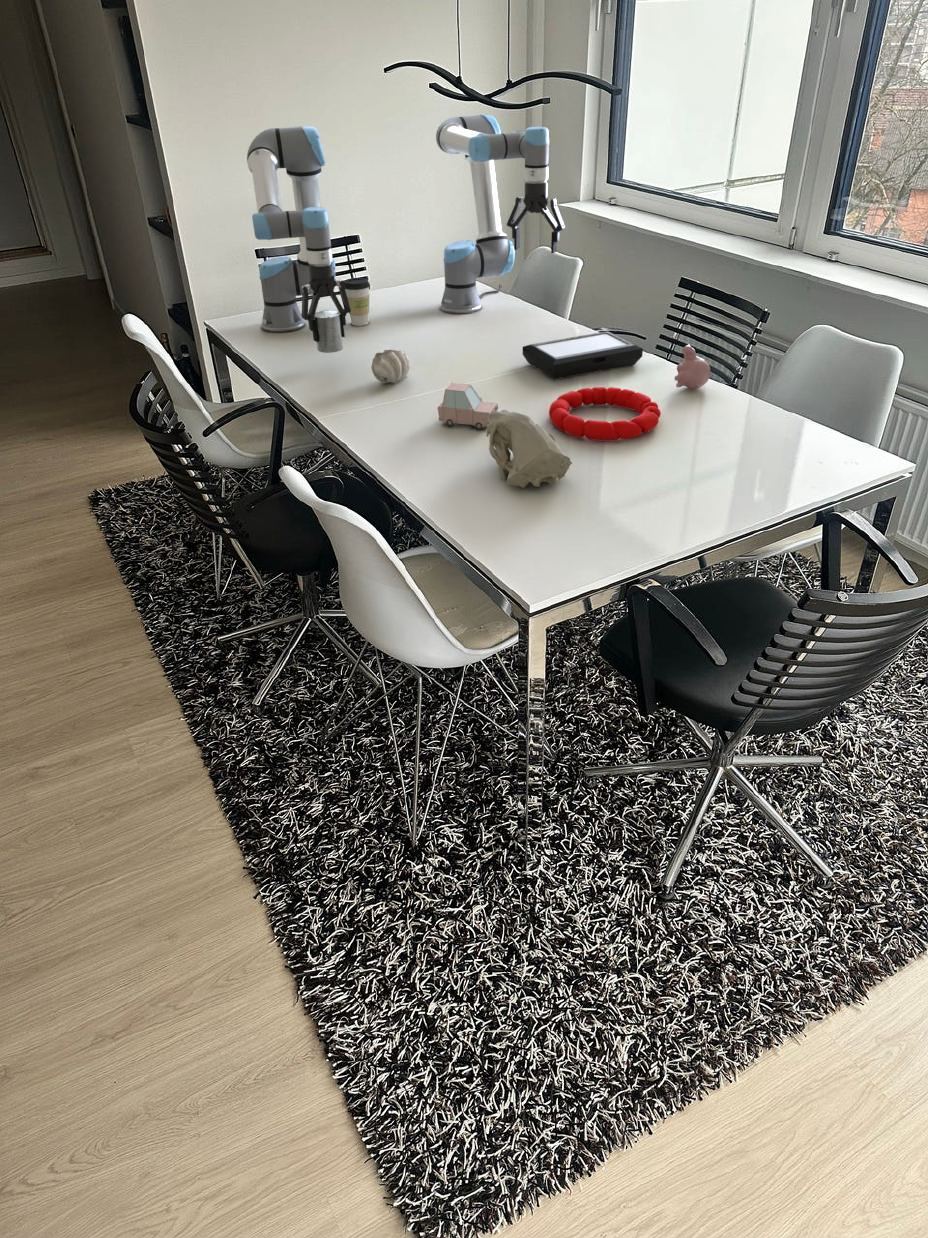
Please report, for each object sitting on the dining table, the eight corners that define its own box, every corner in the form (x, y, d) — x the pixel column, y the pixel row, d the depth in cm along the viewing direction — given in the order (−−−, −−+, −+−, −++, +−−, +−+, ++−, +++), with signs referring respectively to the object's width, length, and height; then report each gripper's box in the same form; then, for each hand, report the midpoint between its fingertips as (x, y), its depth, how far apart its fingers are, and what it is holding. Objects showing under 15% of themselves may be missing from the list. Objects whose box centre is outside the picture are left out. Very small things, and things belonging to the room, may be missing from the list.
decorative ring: (589, 435, 224) (684, 402, 234) (527, 398, 247) (617, 369, 256) (589, 461, 229) (683, 427, 238) (529, 422, 251) (617, 393, 260)
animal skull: (496, 517, 219) (521, 479, 201) (463, 429, 225) (484, 384, 207) (557, 503, 225) (586, 465, 206) (523, 417, 231) (549, 373, 212)
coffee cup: (372, 326, 323) (368, 283, 314) (345, 327, 323) (340, 284, 315) (374, 318, 331) (371, 276, 322) (348, 319, 331) (344, 277, 323)
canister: (312, 349, 284) (307, 315, 278) (329, 342, 289) (325, 308, 283) (330, 354, 280) (326, 319, 274) (348, 347, 285) (344, 312, 279)
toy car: (488, 432, 240) (488, 396, 234) (436, 426, 244) (434, 390, 239) (499, 419, 247) (499, 384, 241) (448, 413, 252) (447, 379, 246)
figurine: (665, 387, 264) (669, 347, 257) (693, 380, 268) (698, 340, 261) (686, 396, 257) (690, 355, 250) (714, 388, 262) (720, 348, 255)
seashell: (364, 381, 275) (361, 349, 270) (407, 372, 281) (405, 341, 275) (377, 391, 268) (374, 358, 262) (421, 382, 273) (420, 349, 268)
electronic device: (553, 362, 266) (522, 343, 282) (552, 382, 270) (522, 363, 285) (643, 345, 277) (609, 328, 292) (641, 365, 280) (607, 347, 295)
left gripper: (291, 270, 263) (301, 347, 276) (357, 261, 271) (364, 335, 284) (283, 265, 269) (293, 340, 282) (348, 256, 276) (355, 329, 289)
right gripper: (496, 181, 291) (497, 249, 303) (567, 185, 281) (565, 255, 293) (506, 177, 297) (506, 245, 309) (576, 181, 287) (573, 251, 299)
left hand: (329, 338), depth 283 cm, fingers closed on canister, 8 cm apart
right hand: (535, 250), depth 301 cm, fingers open, 13 cm apart
